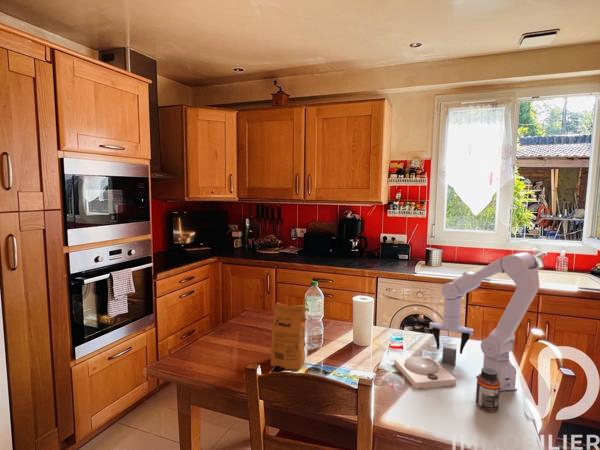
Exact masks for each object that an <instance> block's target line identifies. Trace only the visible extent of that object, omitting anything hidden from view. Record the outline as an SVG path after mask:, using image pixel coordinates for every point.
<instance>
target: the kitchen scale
mask: <svg viewBox="0 0 600 450" xmlns="http://www.w3.org/2000/svg"><path fill="white" fill-rule="evenodd" d="M393 364H394V366H395V365H396V366H395V367H396V368H397V369H398V371H400V372H401V374H402V375H403V376H404V377H405V378H406V380H408V381H409V383H410V384H411V385H412V387H414V389H416V390H417V389H425V388H438V387H449V386H450V387H451V386H456V385H457V378H456V377H455V376H453V375H452V374H451V373H450V372H449V371H448V370H447V369H446V368H444V366H442V365H441V364H440V363H439V362H437V361H436V360H435V359H434V357H432V356H431V355H427V356H410V357H400V358H399V357H397V358H394V363H393Z"/></svg>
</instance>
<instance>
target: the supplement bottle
mask: <svg viewBox="0 0 600 450" xmlns="http://www.w3.org/2000/svg"><path fill="white" fill-rule="evenodd" d="M477 375H478V377H477V376H476V377H477V378H476V392H475V393H476V394H475V405H476V407H477V408H478V409H480V410H482V411H484V412H488V413H496V412H498V410H499V407H500V406H499V403H500V393H501V391H500V380H499V379H498V378H497V371H496V370H494V369H492V368H489V367H484V368H483V367H482V368H481V370H480V373H479V374H477Z"/></svg>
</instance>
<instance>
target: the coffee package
mask: <svg viewBox="0 0 600 450" xmlns="http://www.w3.org/2000/svg"><path fill="white" fill-rule="evenodd" d="M272 321H273V323H272V324H273V325H272V327H271V345H270V366H271V367H274V366H279V368H282V367H283V368H285V369H284V370H287V369H291V370H295V371H296V370H297V371H299V370H301V368H302V367H303V366H304V364H305V359H306V355H305V342H306V341H305V339H306V338H305V337H306V315H305V305H304V304H303V305H302V304H300V305H286V304H283V303H281V302H278V301H277V302H275V308H274V313H273V320H272ZM283 368H282V369H283ZM291 370H290V371H291Z"/></svg>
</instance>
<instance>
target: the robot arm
mask: <svg viewBox="0 0 600 450" xmlns="http://www.w3.org/2000/svg"><path fill="white" fill-rule="evenodd" d="M539 268H540V264H539V262H538V260H537V259H536V257H535V256H534V255H533V254H532V253H530V252H529V251H528V252H527V251H523V252H520V253H515V254H507V255H505V256H504V257H500V258H498V259H496V260H494V261H492V262H491V263H489V264H488V265H486V266H484V267H483V268H481V269H478V270H477V271H476V272H474V271H464V272H462V275H461V276H459V277H456V278H453V279H452V282H446V283H444V284H443V285H442V287H441V295H442V296H443V297H444V300H443V311H442V312H443V313H442V322H435V321H434V322H433V321H430V322H429V330H432V335H433V337H434V339H435V342H436V349H437V350H440V336H441V335H440V334H441V333H440V332H441V331H446V332H452V333H457V334H458V333H459V334H461V337H460V340H461V341H460V346H459V354H460V355H461V354H463V351H464V348H465V345H466V344H467V342H469V339H470V337H474V329H473V328H470V327H466V326H463V325H461V311H462V302H463V297H464V296H465V295H466V294H467V293H469V292H471V291H473V290H475V289H477V288H479V287H480V286H481V283H482V281H484V280H486V279H488V278H490V277H493V276H494V275H497V274H499V273H500V274H504V273H506V274H507V276H508V277H509V278H510V279H511V280H512V281H513V282H514V284H515V286H516V288H515V291H514V292H513V295H512V296H511V298H510V300H509V301H508V304H507V306H506V308H505V309H504V311H503V313H502V315H501V317H500V319H499V320H498V322H497V325H496V327H495V328H494V329H492V331H491V332H490V333H489V334H488V336H487V337H486V338H484V339H483V340H482V341H481V342H480V349H481V352H482V353H483V365H482V368H484V367H489V368H492V369H494V370H496V371H497V378H498V379H499V380H500V392H504V391H513V390H514V391H515V390H518V387H517V386H516V381H517V380H516V379H517V370H516V367H515V366H514V365H513V364H512V363H511V361H510V352H512V351H513V349H514V347H515V345H514V341H515V338H516V335H515V333H516V331H517V329H518V327H519V326H520V324H521V322H522V320H523V318H524V317H525V315H526V314H527V312H528V309H529V308H530V307H531V305H532V302H533V301H534V299H535V297H536V295H537V294H538V291H539V289H540V278H539ZM478 375H479V374H476V377H478Z"/></svg>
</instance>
